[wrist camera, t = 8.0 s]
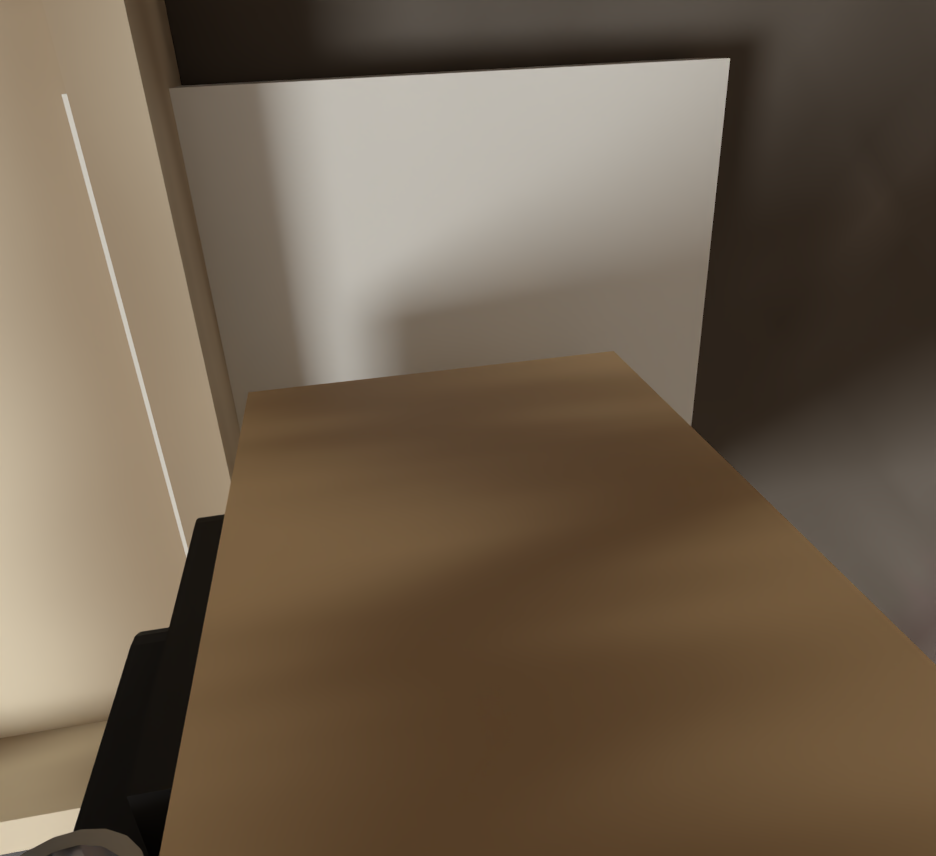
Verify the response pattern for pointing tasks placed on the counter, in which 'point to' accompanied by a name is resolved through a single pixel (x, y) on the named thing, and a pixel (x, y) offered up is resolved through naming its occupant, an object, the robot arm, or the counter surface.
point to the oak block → (533, 639)
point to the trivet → (453, 220)
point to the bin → (93, 384)
